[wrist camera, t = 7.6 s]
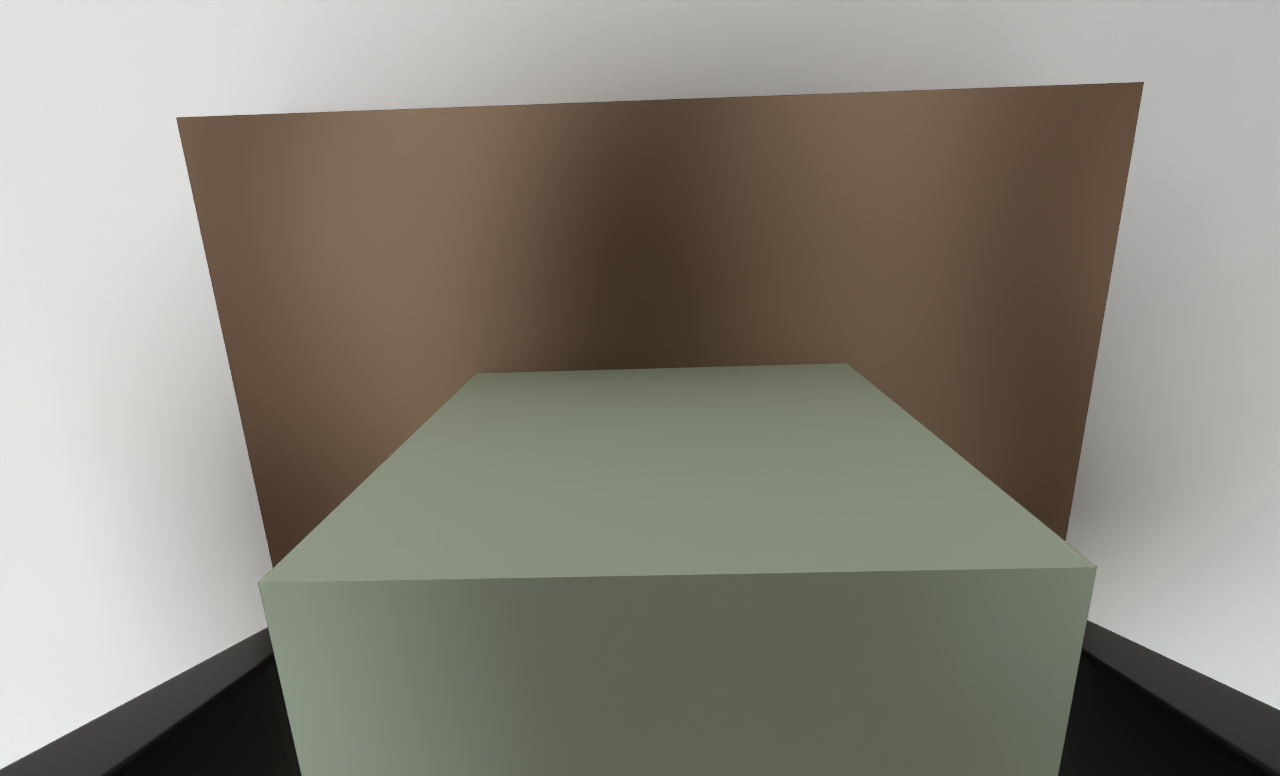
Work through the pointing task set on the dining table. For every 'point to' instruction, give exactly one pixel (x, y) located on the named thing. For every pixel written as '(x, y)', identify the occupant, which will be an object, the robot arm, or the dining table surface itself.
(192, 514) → the dining table surface
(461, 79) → the dining table surface
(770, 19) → the dining table surface
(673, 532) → the sage block
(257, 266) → the walnut plinth
